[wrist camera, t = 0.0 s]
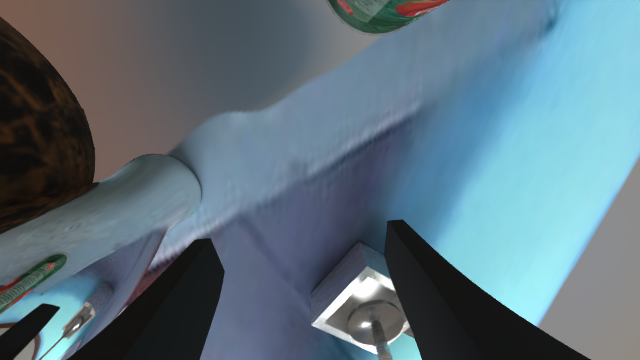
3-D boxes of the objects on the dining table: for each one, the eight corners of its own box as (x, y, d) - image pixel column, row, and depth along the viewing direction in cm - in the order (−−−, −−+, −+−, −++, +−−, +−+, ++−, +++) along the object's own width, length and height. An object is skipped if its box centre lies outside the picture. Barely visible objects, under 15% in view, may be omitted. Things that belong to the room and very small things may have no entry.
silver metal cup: (172, 132, 18) (-257, 293, 4) (223, 205, 21) (58, 455, 7) (98, 170, 19) (-469, 410, 5) (156, 236, 21) (-115, 517, 8)
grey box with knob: (384, 330, 28) (395, 362, 24) (310, 293, 25) (311, 325, 22) (434, 285, 26) (452, 314, 22) (358, 240, 23) (367, 266, 20)
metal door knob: (377, 345, 23) (399, 428, 17) (336, 326, 21) (346, 410, 16) (412, 313, 21) (449, 393, 16) (371, 291, 20) (395, 370, 15)
